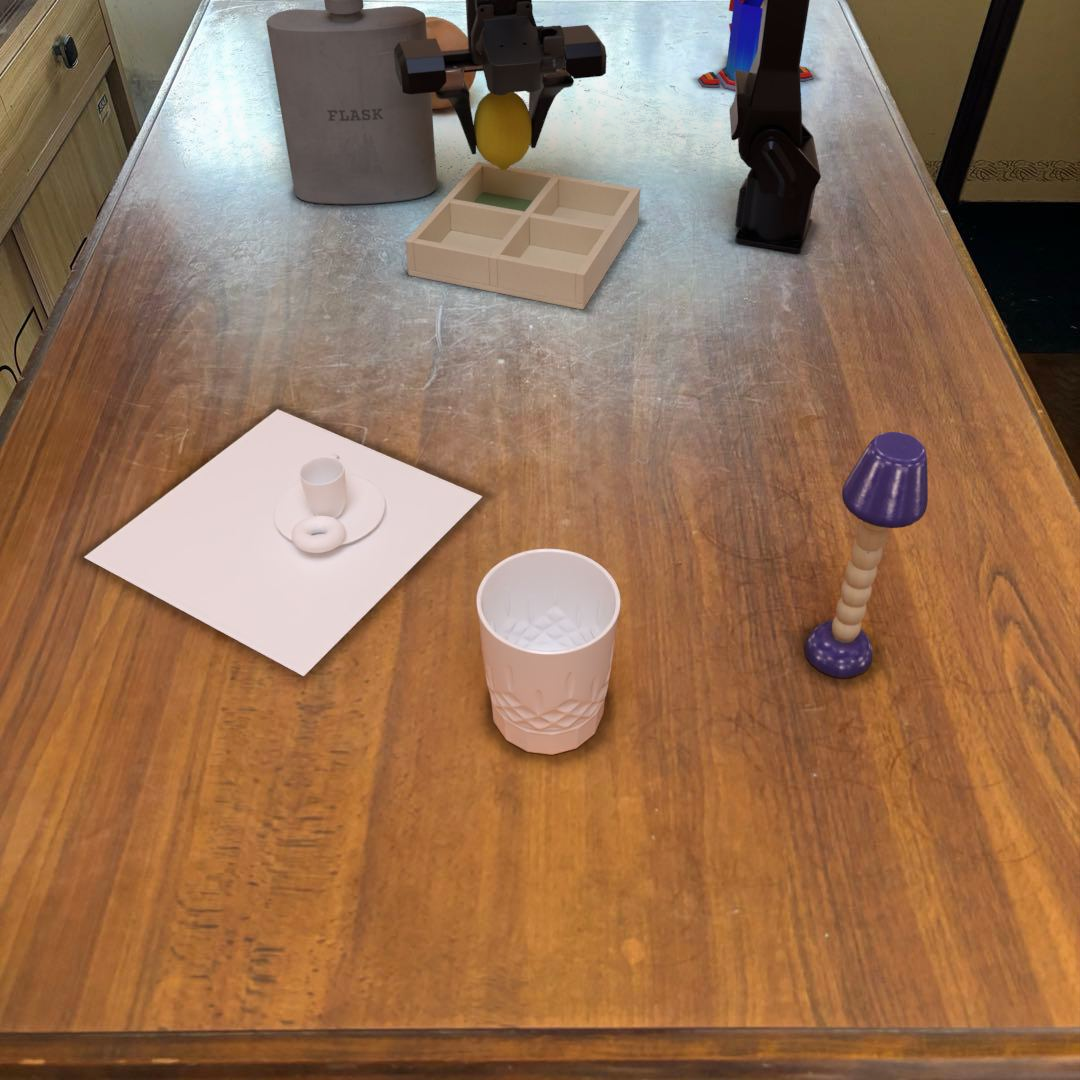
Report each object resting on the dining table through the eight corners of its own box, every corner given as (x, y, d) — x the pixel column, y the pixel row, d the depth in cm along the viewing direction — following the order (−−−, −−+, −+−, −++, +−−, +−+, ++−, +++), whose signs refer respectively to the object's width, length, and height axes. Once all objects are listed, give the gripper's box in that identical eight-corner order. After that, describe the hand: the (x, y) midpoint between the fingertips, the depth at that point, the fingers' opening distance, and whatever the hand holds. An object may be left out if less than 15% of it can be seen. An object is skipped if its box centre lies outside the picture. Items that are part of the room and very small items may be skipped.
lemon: (525, 185, 105) (524, 101, 100) (469, 179, 106) (465, 96, 101) (537, 159, 109) (536, 78, 104) (482, 155, 110) (479, 73, 104)
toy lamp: (798, 621, 72) (847, 419, 61) (870, 622, 72) (932, 420, 61) (809, 678, 69) (863, 475, 57) (884, 680, 69) (953, 477, 57)
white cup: (480, 664, 70) (473, 552, 63) (603, 656, 70) (610, 543, 63) (486, 769, 64) (479, 658, 57) (620, 759, 65) (630, 648, 58)
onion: (494, 99, 133) (492, 12, 126) (446, 129, 127) (441, 39, 120) (430, 82, 137) (424, -3, 130) (380, 111, 131) (371, 23, 124)
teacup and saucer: (330, 574, 76) (322, 531, 73) (243, 532, 79) (232, 489, 76) (407, 501, 81) (402, 459, 78) (323, 464, 84) (316, 422, 81)
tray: (638, 222, 111) (640, 188, 109) (583, 310, 100) (584, 274, 97) (479, 194, 116) (477, 161, 113) (408, 275, 104) (405, 240, 101)
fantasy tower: (691, 83, 137) (701, -20, 128) (735, 54, 144) (747, -47, 135) (777, 106, 132) (794, -1, 123) (819, 74, 139) (837, -29, 130)
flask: (292, 208, 113) (257, 2, 100) (296, 182, 118) (263, -19, 104) (438, 202, 114) (423, -3, 100) (436, 176, 119) (423, -24, 105)
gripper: (402, 16, 88) (418, 198, 99) (626, -3, 91) (618, 176, 102) (385, -28, 96) (402, 146, 107) (592, -44, 99) (588, 126, 110)
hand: (502, 149), depth 106 cm, fingers closed on lemon, 5 cm apart
